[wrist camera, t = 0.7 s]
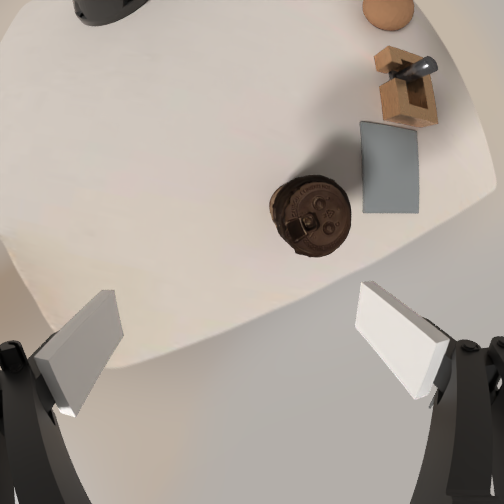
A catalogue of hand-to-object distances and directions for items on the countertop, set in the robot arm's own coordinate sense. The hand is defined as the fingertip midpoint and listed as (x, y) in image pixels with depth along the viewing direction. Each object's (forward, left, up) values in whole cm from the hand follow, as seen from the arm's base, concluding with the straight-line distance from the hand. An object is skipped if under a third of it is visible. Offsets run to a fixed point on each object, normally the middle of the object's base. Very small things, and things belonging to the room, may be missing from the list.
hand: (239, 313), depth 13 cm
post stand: (-25, +28, -25) cm, 45 cm away
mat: (-9, +25, -25) cm, 37 cm away
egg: (-38, +26, -25) cm, 53 cm away
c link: (-23, +28, -25) cm, 44 cm away
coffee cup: (-3, +8, -25) cm, 27 cm away
